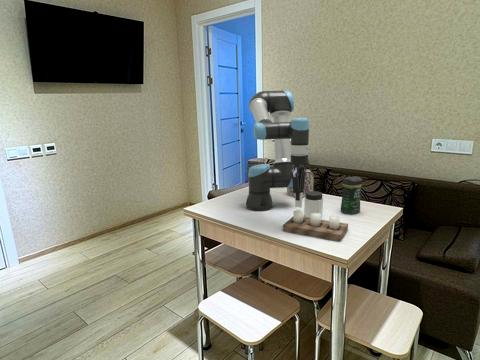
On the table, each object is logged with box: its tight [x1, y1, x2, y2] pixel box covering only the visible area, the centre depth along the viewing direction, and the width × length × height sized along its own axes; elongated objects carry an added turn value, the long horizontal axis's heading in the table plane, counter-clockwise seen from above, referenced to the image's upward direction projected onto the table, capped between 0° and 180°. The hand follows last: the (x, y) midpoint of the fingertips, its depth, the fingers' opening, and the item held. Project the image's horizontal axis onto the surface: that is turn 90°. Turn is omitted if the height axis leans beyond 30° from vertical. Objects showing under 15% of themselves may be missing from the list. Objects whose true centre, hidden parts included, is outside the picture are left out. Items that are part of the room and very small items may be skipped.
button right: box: [328, 214, 341, 230], centre depth 135 cm, size 4×4×5 cm
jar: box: [303, 190, 324, 218], centre depth 158 cm, size 9×8×12 cm
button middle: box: [310, 213, 322, 227], centre depth 139 cm, size 4×4×5 cm
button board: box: [282, 216, 349, 243], centre depth 140 cm, size 25×14×3 cm, turn 60°
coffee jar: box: [340, 175, 363, 215], centre depth 162 cm, size 10×8×19 cm
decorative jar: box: [286, 166, 315, 199], centre depth 195 cm, size 12×12×18 cm
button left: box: [292, 209, 304, 224], centre depth 143 cm, size 4×4×5 cm
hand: (298, 206), depth 142 cm, fingers closed
